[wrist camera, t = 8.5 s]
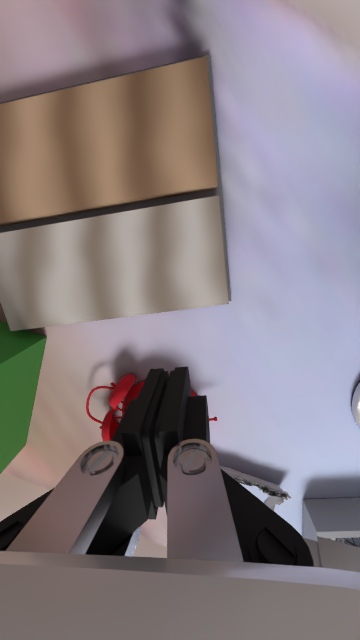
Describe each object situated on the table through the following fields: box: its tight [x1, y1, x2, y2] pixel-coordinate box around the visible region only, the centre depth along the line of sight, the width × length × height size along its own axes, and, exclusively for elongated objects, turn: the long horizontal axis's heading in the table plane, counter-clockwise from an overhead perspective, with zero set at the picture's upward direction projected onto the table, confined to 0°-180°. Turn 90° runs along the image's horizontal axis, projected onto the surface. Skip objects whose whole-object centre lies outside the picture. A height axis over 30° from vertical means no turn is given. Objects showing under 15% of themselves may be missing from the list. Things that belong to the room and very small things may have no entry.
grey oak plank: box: [0, 195, 229, 331], centre depth 24 cm, size 24×10×2 cm, turn 98°
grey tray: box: [303, 497, 360, 541], centre depth 32 cm, size 14×13×4 cm
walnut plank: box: [0, 56, 218, 226], centre depth 21 cm, size 24×9×2 cm, turn 98°
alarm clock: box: [86, 374, 217, 441], centre depth 28 cm, size 10×6×15 cm
